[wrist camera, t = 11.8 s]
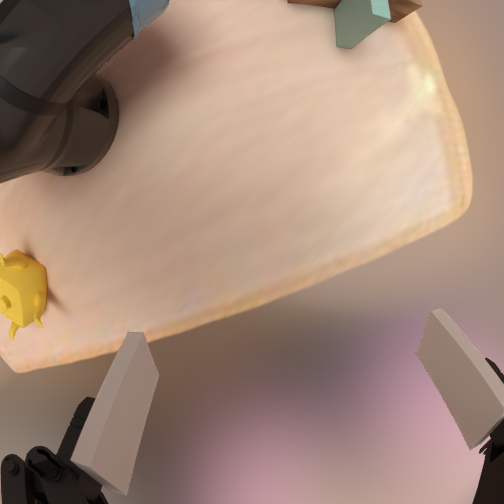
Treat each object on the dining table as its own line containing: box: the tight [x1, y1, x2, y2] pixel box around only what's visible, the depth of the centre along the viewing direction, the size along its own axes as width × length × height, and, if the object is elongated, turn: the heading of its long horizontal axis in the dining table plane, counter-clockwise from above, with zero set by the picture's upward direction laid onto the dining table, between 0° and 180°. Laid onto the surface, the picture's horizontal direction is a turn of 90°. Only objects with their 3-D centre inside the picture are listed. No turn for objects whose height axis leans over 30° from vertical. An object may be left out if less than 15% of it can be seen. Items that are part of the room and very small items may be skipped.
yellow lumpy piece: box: [0, 250, 47, 340], centre depth 35 cm, size 15×14×10 cm
